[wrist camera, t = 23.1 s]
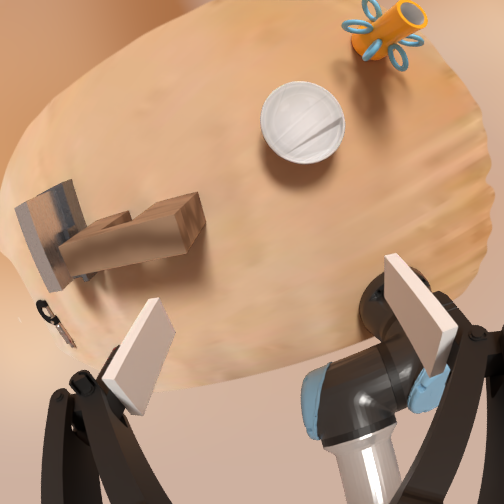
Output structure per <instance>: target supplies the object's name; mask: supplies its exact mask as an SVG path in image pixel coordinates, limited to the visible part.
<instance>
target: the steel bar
mask: <svg viewBox="0 0 504 504" xmlns="http://www.w3.org/2000/svg"><path fill="white" fill-rule="evenodd" d="M15 212H16V215H17V218H18V221H19V224H20V226H21V229H22V232H23V235H24V237H25V240H26V242H27V245H28V247H29V250H30V252H31V255H32V257H33V259H34V262H35V264H36V266H37V268H38V271H39V273H40V275H41V277H42V279H43V281H44V283H45V285H46V287H47V289H48V291H49V293H51V292H56V291H62V290H63V289H64V288H65V287H66V286H67V285H68V284H69V283H70V282H71V281H73V280H74V279H75V278H76V277H77V276H78V275H77V276H72V277H71V275H70V273H69V271H68V268H67V266H66V264H65V262H64V259H63V257H62V255H61V252H60V250H59V246H60V245H62V244H63V243H65V242H66V241H67V240H66V238H65V235H64V233H63V231H64V230H66V229H67V228H69V227H68V225H67V222H66V219H65V216H64V214H63V211H62V208H61V205H60V202H59V198H58V195H57V192H56V189H53V190H51V191H48V192H46V193H44V194H41V195H39V196H37V197H34V198H32V199H30V200H28V201H26V202H24V203H22V204H21V205H19V206H18V207H16V208H15Z"/></svg>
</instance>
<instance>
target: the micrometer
mask: <svg viewBox="0 0 504 504" xmlns="http://www.w3.org/2000/svg"><path fill="white" fill-rule="evenodd" d="M36 306H37V309H38V311H39V313H40V315H41V316H42V317H43V318H44V319H45V320H46V321H47V322H49V323H51V324H53V325H55V326H56V328H57V330H58V331H59V333H60V334H61V335H62V337H63V338H64V340H65V341H66V343H67V344H70V346H71V347H72V348H73V347H74V346H75V344H74V343H73V342H72V340H73V339H72V338H71V337H70V335H69V334H68V332H67V331H66V329H65V328H64V327H63V325H62V324H61V323H60V321H59V319H58V318H57V316H56V315H53V313H52V312H51V310H50V309H49V307H48V305H47V303H46V301H45V300H44V301H42V300H38V301H37V302H36ZM42 307H45V308H46V309H47V311H48V312H49V314H50V315H51V317H48V316H46V315H45V314H44V313H43V311H42Z"/></svg>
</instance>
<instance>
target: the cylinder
mask: <svg viewBox="0 0 504 504" xmlns="http://www.w3.org/2000/svg"><path fill="white" fill-rule="evenodd" d="M368 1H370V2H371V3H372V4H373V6H374V7H375V10H376V17H373V16H372V15H371V14H370V12H369V10H368V7H367V2H368ZM362 8H363V11H364V13H365V14H366V16H367V17H368V18H369V19H370V21H362V20H347V21H344V22H343V23H342V25H341V26H342V28H343V29H344V30H345V31H347V32H350V33H353V34H352V38H351V41H352V45H353V47H354V49H355V50H356V52H357V53H358V54H360V55H361V56H362V59H363V61H368V60H379V59H382V58H384V57H385V56H387V55H388V56H389V59H390V61H391V63H392V64H393V66H394V67H395V68H396V69H397V70H399V71H402V72H403V71H406V70H407V68H408V58H407V55H406V53H405V51H404V50H403V49H402V48H401V47H400V46H399V45H397V42H398V43H400V44H402V45H405V46H411V47H419V46H422V45H423V44H424V40H423V39H422V38H421V37H419V36H417V35H414V34H413V33H415V32H417V31H418V30H420V29H422V28H424V27H426V25H427V22H428V20H427V16H426V14H425V12H424V11H423V9H422V8H421V7H420V6H419V5H418V4H416V3H415V2H413V1H411V0H400V1H399V2H397V3H396V4H395V5H394V6H392V8H390V9H389V10H388V11H386V12H385V13H384V14H383V15H382V11H381V8H380V6H379V4H378V3H377V2H376V1H375V0H362ZM349 25H360V26H359V27H358V28H357V29H353V28H350V27H348V26H349ZM404 38H410V39H415V40H417V41H418V42H408V41H404V40H402V39H404ZM395 49H396V50H398V52H399V53H400V55H401V57H402V60H403V65H402V66H400V65H399V64H398V63H397V62H396V60H395V58H394V55H393V51H394V50H395Z"/></svg>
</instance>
